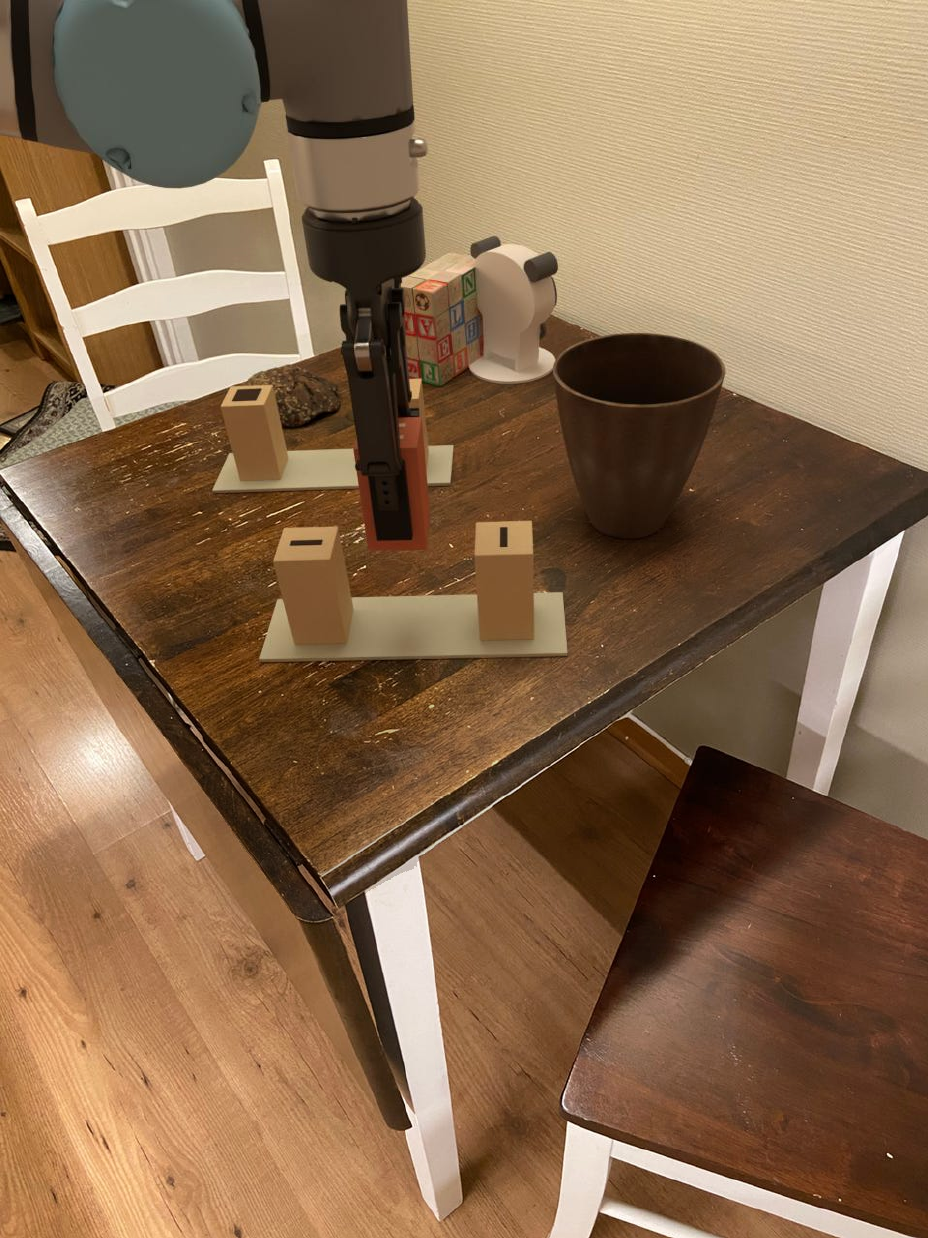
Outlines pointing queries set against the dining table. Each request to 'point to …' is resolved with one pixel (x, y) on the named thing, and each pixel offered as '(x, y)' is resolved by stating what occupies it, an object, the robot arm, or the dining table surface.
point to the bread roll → (298, 393)
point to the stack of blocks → (442, 319)
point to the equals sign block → (416, 489)
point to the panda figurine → (513, 310)
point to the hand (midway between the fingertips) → (398, 517)
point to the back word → (274, 468)
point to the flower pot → (634, 424)
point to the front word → (412, 606)
